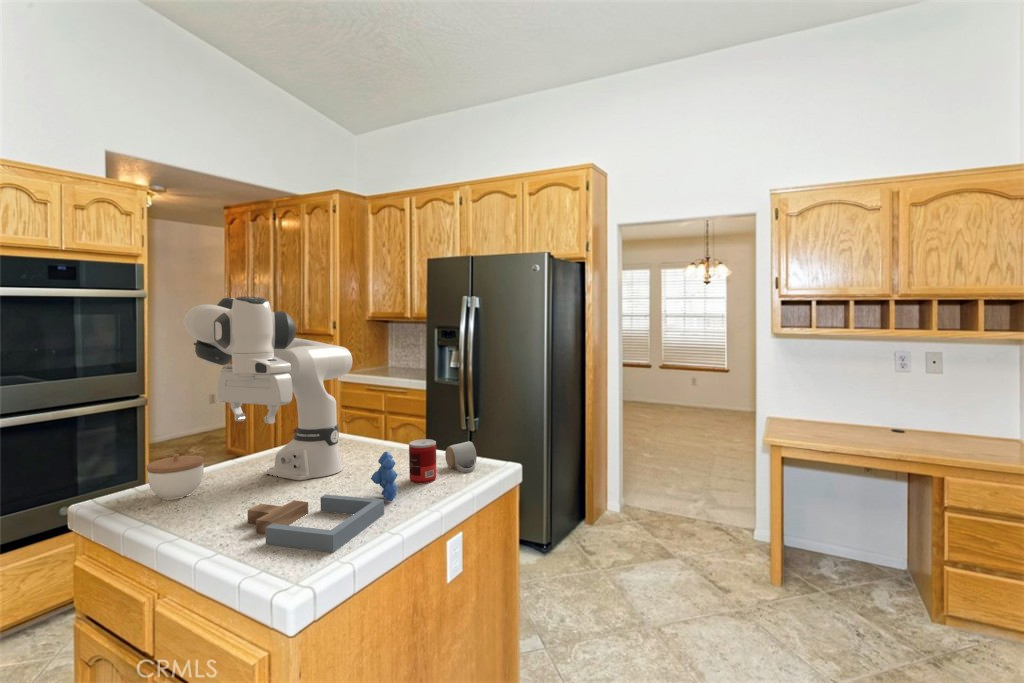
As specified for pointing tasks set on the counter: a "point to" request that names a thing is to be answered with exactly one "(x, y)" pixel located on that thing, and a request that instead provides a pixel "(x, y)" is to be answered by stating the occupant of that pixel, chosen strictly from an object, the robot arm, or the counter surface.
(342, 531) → the bay
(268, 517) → the t block
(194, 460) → the lidded bowl
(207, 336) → the robot arm
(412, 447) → the canned food
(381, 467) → the grapes
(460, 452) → the ceramic mug
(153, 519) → the counter surface
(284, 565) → the counter surface
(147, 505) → the counter surface
